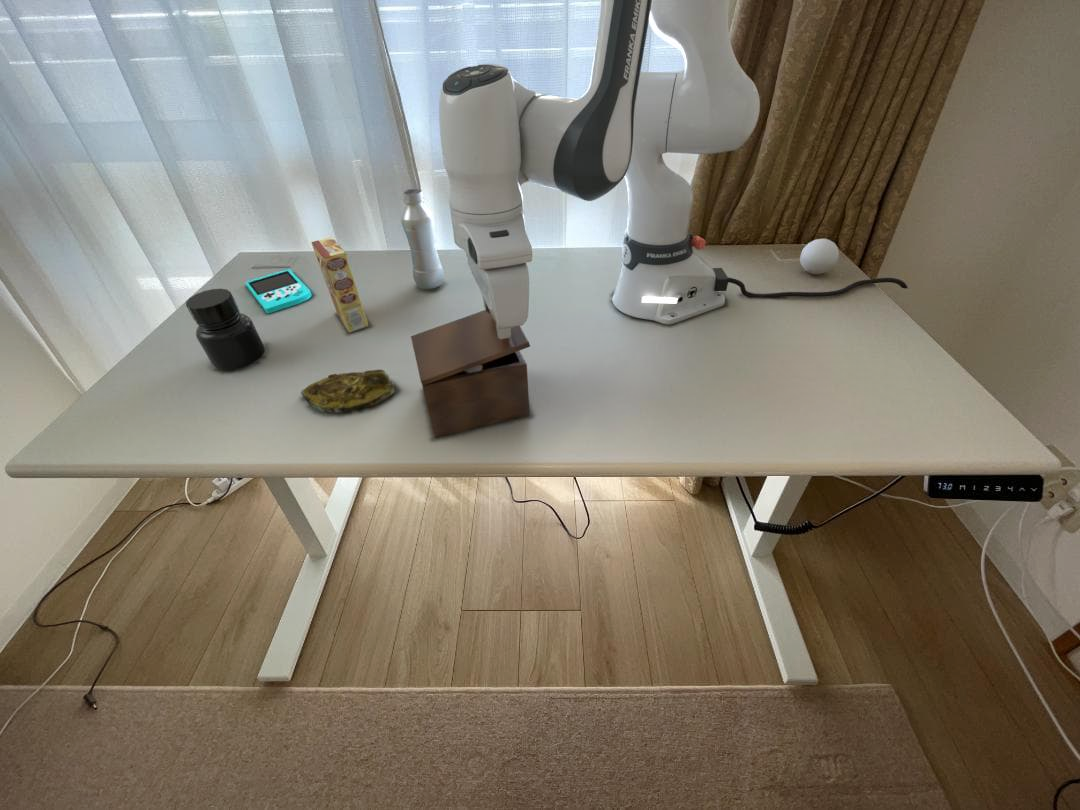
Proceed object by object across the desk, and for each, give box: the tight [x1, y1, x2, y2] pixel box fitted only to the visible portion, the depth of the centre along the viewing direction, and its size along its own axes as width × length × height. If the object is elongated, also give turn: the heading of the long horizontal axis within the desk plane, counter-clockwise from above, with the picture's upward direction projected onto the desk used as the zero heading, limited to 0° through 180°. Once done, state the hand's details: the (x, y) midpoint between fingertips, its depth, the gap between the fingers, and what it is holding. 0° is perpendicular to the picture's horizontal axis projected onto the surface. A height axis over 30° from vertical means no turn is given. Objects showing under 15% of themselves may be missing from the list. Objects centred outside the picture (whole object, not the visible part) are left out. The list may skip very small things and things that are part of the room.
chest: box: [421, 350, 531, 438], centre depth 74 cm, size 15×12×10 cm
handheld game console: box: [245, 268, 312, 314], centre depth 107 cm, size 10×16×1 cm, turn 39°
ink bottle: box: [185, 288, 266, 371], centre depth 85 cm, size 10×9×12 cm
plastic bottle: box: [400, 188, 445, 290], centre depth 101 cm, size 6×7×20 cm
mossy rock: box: [301, 369, 396, 414], centre depth 79 cm, size 9×5×15 cm
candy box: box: [311, 236, 369, 333], centre depth 93 cm, size 9×4×15 cm, turn 33°
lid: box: [410, 301, 531, 386], centre depth 69 cm, size 15×12×5 cm
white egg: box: [799, 238, 840, 275], centre depth 106 cm, size 10×7×7 cm
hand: (497, 322), depth 70 cm, fingers closed on lid, 6 cm apart
